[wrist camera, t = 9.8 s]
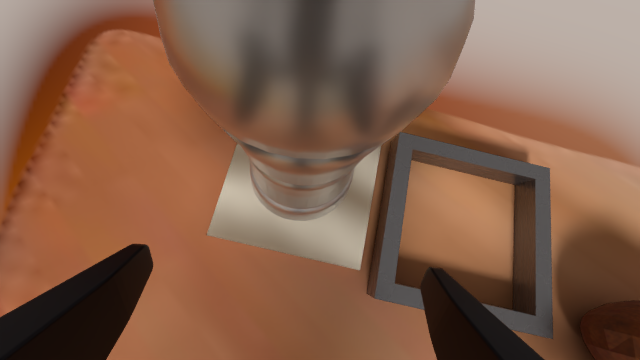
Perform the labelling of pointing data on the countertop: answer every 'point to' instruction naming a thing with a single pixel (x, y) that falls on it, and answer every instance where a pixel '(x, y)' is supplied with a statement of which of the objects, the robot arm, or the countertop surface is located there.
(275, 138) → the plastic bottle
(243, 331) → the countertop surface
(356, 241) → the board
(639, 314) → the potato
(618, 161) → the countertop surface
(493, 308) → the collar
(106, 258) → the robot arm
